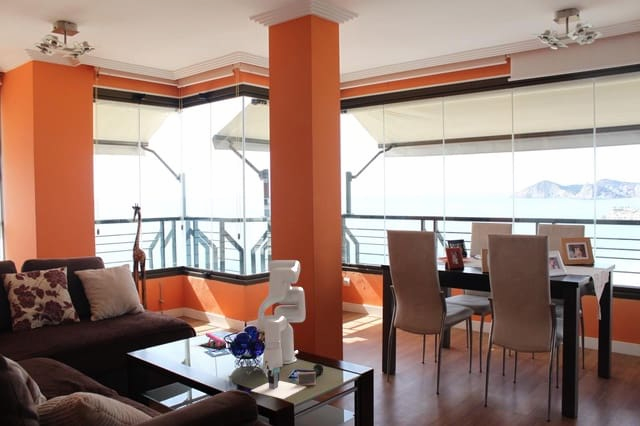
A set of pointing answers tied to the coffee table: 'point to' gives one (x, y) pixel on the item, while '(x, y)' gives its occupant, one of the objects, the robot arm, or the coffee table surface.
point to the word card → (306, 378)
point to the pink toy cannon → (214, 342)
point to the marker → (275, 374)
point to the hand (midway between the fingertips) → (273, 381)
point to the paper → (279, 390)
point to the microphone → (318, 369)
